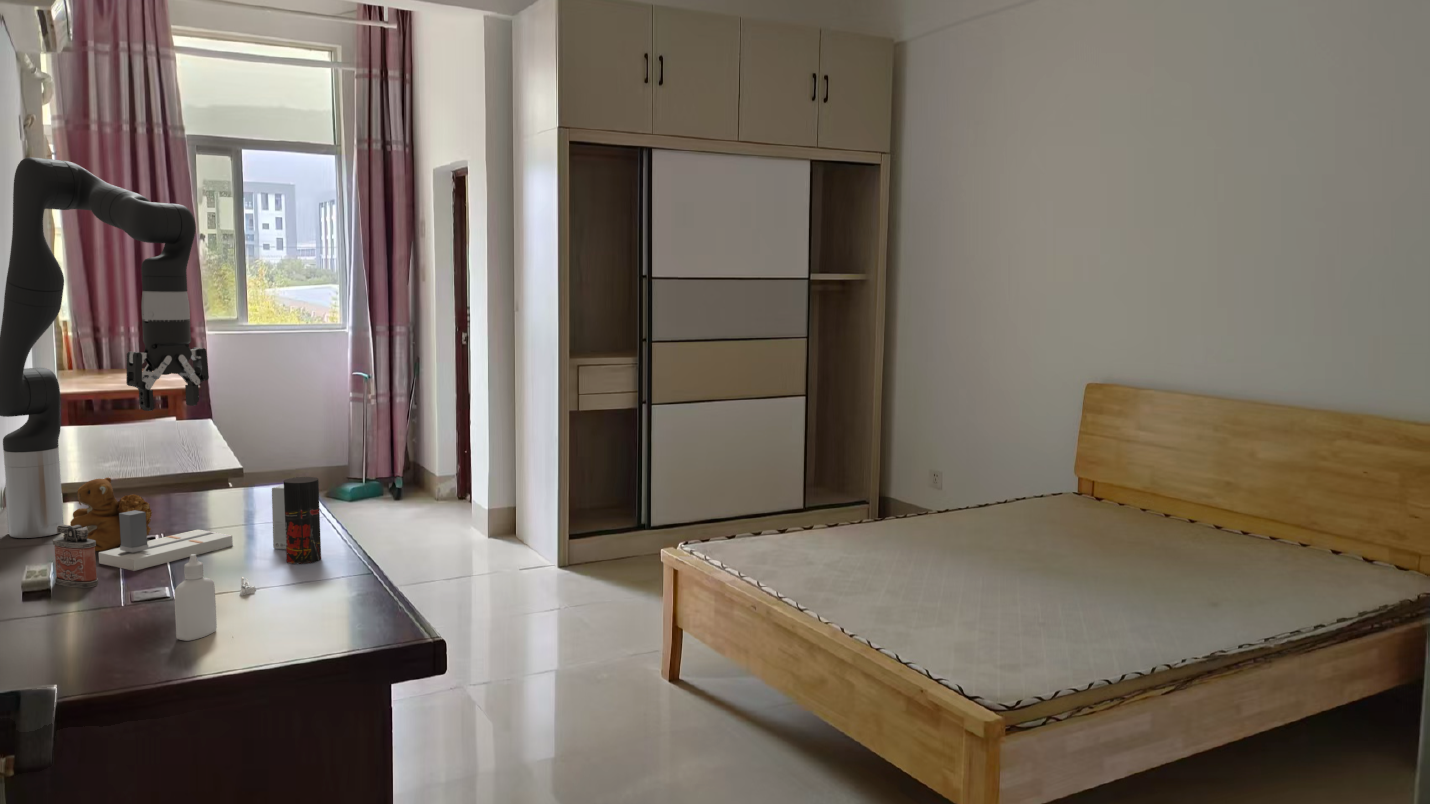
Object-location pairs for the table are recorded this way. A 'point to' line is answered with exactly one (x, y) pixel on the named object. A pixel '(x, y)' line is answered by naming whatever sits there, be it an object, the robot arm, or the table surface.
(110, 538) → the stuffed squirrel
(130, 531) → the fader
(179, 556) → the panel
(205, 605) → the eye dropper bottle
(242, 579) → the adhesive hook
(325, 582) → the table surface
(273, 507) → the skincare box
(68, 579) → the lighter
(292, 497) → the deodorant
